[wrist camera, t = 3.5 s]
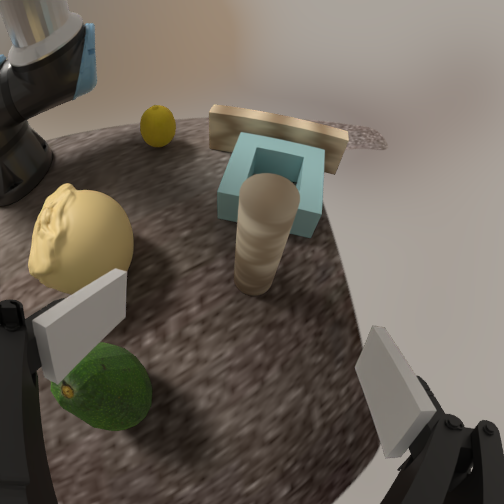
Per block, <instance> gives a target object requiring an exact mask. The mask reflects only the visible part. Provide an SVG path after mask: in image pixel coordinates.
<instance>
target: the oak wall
mask: <svg viewBox="0 0 504 504" xmlns="http://www.w3.org/2000/svg"><path fill="white" fill-rule="evenodd" d="M241 132H244V133H249V134H255V135H260V136H266V137H271V138H276V139H280V140H285V141H290V142H294V143H299V144H303V145H307V146H311V147H316V148H320V149H323V150H325V156H324V172H326V173H330V174H334V175H335V173H336V171H337V169H338V166H339V163H340V161H341V159H342V156H343V153H344V151H345V149H346V146H347V144H348V141H349V139H348V131H344V130H341V129H337V128H333V127H330V126H326V125H322V124H318V123H314V122H310V121H306V120H301V119H297V118H292V117H288V116H283V115H278V114H273V113H267V112H262V111H256V110H250V109H243V108H237V107H230V106H223V105H215V104H214V105H213V107H212V108H211V110H210V111H209V145H210V149H215V150H221V151H227V152H233V150H234V148H235V145H236V143H237V140H238V138H239V135H240V133H241Z"/></svg>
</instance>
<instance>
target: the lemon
mask: <svg viewBox="0 0 504 504" xmlns="http://www.w3.org/2000/svg"><path fill="white" fill-rule="evenodd" d="M175 130H176V123H175V119H174V117H173V114H172V112H171V111H170V110H169V109H168V108H166V107H164V106H160V105H154V106H152V107H150V108H149V109H147V110H146V111H145V112H144V114H143V115H142V117H141V122H140V131H141V135H142V137H143V139H144V141H145V142H146V143H147V144H148V145H150V146H152V147H163V146H165V145H167V144H168V143H170V141H171V140H172V139H173V137H174V135H175Z"/></svg>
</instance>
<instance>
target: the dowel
mask: <svg viewBox="0 0 504 504" xmlns="http://www.w3.org/2000/svg"><path fill="white" fill-rule="evenodd" d="M299 204H300V194H299V191H298V189H297V188H296V186H295V185H294V184H293V183H292V182H291V181H290V180H288V179H287V178H285V177H283V176H280V175H277V174H272V173H260V174H256V175H253V176H251V177H249V178H248V179H246V180H245V181H244V182H243V184H242V185H241V188H240V192H239V206H238V220H237V235H236V250H235V265H234V282H235V285H236V286H237V288H238V289H239V290H240V291H241V292H243V293H244V294H247V295H251V296H258V295H261V294H263V293H265V292H267V291H268V290H269V288H270V287H271V285H272V282H273V279H274V277H275V274H276V271H277V268H278V265H279V262H280V260H281V257H282V254H283V251H284V248H285V245H286V242H287V239H288V236H289V233H290V230H291V228H292V225H293V222H294V219H295V216H296V213H297V210H298V207H299Z"/></svg>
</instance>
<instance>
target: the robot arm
mask: <svg viewBox="0 0 504 504" xmlns="http://www.w3.org/2000/svg"><path fill="white" fill-rule="evenodd" d="M0 14H1V16H2V19H3V22H4V24H5V27H6V29H7V32H8V34H9V36H10V39H11V41H12V43H13V45H12V47H11V49H10V51H9V54H8V60H6V57H5V56H4V55H3V54H2V55H0V206H5V205H9V204H12V203H14V202H16V201H18V200H19V199H21V198H22V197H24V196H25V195H26V194H28V193H29V192H30V191H31V190H32V189H33V188H34V187H35V186H36V185H37V184H38V183H39V182H40V181H41V179H42V178H43V177H44V175H45V174H46V172H47V171H48V169H49V167H50V165H51V162H52V152H51V150H50V148H49V146H48V144H47V142H46V141H45V140H44V139H43V138H42V137H41V136H40V135H38V133H37V132H35V131H34V130H33V129H32V128H31V127H30V125H29V124H28V121H27V120H28V119H29V118H31V117H34V116H36V115H38V114H40V113H42V112H45V111H47V110H49V109H51V108H54V107H56V106H58V105H61V104H63V103H66V102H68V101H71V100H75V99H76V98H77V97H79V96H81V95H84V94H86V93H88V92H90V91H92V90H93V88H94V87H95V86H96V83H97V74H96V58H95V27H94V24H92V23H91V24H85V25H83V19H82V17H81V16H80V15H79V14H77V13H72V12H69V7H68V2H67V0H0ZM126 286H127V271H123V270H119V269H116V268H115V269H113V270H112V271H110V272H108V273H107V274H105V275H103V276H101V277H100V278H98V279H97V280H95V281H93V282H92V283H90V284H88V285H87V286H85V287H83V288H82V289H80V290H79V291H77V292H75V293H74V294H72V295H71V296H69V297H67V298H66V299H65V298H63V299H59V300H56V301H53V302H52V303H50V304H48V305H47V307H46V306H45V307H44V308H42V309H41V310H39V311H37V312H36V313H34V314H33V315H31V316H30V317H28V318H26V319H25V317H24V311H23V305H22V304H21V302H19V301H17V300H4V301H1V302H0V504H58V502H57V498H56V495H55V491H54V488H53V484H52V480H51V475H50V471H49V466H48V462H47V456H46V451H45V445H44V439H43V432H42V424H41V415H40V403H39V387H38V375H37V370H38V369H39V368H40V367H41V366H42V370H43V374H44V377H45V378H47V379H49V380H50V381H52V382H54V383H56V384H57V385H58V384H59V383H60V382H61V381H62V380H63V379H64V378H65V377H66V376H67V375H68V374H69V372H70V371H71V370H72V369H73V368H74V367H75V366H76V365H77V364H78V363H79V362H80V361H81V360H82V359H83V358H84V357H85V356H86V355H87V354H88V353H89V352H90V351H91V350H92V349H93V348H94V347H95V346H96V345H97V344H98V343H99V342H100V341H101V340H102V339H103V338H104V337H105V336H107V335H108V334H109V333H110V332H111V331H112V330H113V329H114V328H115V327H116V326H117V325H118V324H119V323H120V322H121V321H122V320H123V319H124V318H125V317H126ZM355 370H356V373H357V375H358V378H359V381H360V384H361V386H362V389H363V392H364V395H365V398H366V401H367V403H368V406H369V409H370V412H371V415H372V418H373V421H374V424H375V427H376V430H377V433H378V436H379V439H380V442H381V445H382V449H383V452H384V455H385V458H395V457H401V456H402V455H403V454H404V453H405V452H406V450H407V449H408V448H409V450H410V453H411V455H410V456H409V457H408V459H407V460H406V461H405V462H404V463H403V464H402V465H401V466H400V467H399V468H398V471H400V469H401V471H400V472H399V474H398V476H397V478H396V479H395V481H394V483H393V484H392V486H391V488H390V489H389V491H388V492H387V494H386V496H385V497H384V499H383V500H382V502H381V503H380V504H504V454H503V449H502V443H501V438H500V433H499V430H498V428H497V427H496V426H495V424H493V423H492V422H490V421H487V420H482V421H480V422H479V423H478V425H477V426H476V427H475V429H471V428H465V427H464V424H463V422H462V421H461V420H460V419H459V418H457V417H456V416H454V415H451V414H445V413H444V411H443V409H442V408H441V406H440V404H439V403H438V401H437V399H436V398H435V397H434V394H433V393H432V391H430V388H429V386H428V385H427V383H426V382H425V381H424V380H423V379H422V378H420V377H419V376H416V375H415V374H414V372H413V370H412V369H411V367H410V365H409V364H408V362H407V361H406V360H405V358H404V356H403V354H402V353H401V351H400V350H399V348H398V347H397V345H396V344H395V342H394V341H393V339H392V338H391V336H390V335H389V333H388V332H387V330H386V329H385V328H384V327H378V326H372V328H371V331H370V333H369V336H368V338H367V341H366V343H365V345H364V348H363V350H362V352H361V354H360V357H359V359H358V361H357V363H356V366H355ZM472 467H473V469H472V472H471V468H472Z"/></svg>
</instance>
